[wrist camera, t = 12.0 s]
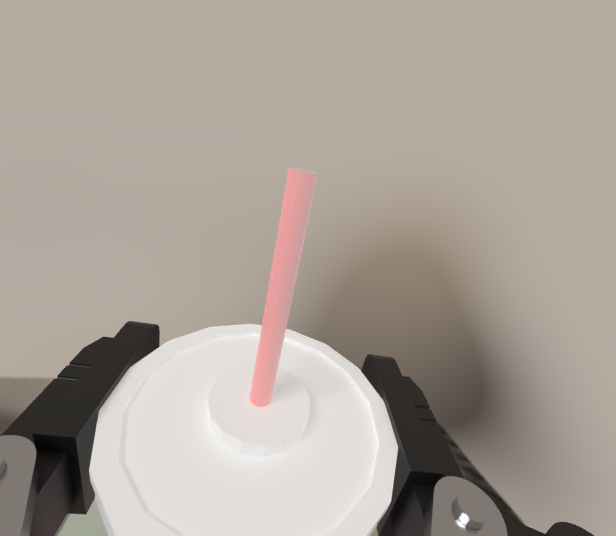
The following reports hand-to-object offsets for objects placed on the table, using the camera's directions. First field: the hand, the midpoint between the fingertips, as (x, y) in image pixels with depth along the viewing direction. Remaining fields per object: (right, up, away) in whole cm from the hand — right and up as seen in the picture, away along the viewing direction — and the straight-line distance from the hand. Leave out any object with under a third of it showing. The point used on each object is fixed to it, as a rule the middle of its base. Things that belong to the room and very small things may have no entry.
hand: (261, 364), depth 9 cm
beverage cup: (-2, -8, +1) cm, 9 cm away
